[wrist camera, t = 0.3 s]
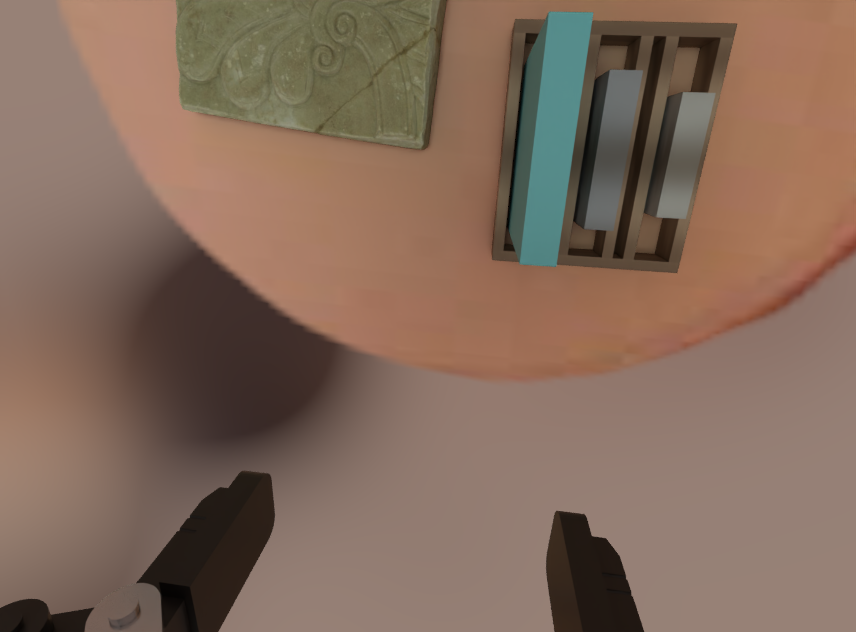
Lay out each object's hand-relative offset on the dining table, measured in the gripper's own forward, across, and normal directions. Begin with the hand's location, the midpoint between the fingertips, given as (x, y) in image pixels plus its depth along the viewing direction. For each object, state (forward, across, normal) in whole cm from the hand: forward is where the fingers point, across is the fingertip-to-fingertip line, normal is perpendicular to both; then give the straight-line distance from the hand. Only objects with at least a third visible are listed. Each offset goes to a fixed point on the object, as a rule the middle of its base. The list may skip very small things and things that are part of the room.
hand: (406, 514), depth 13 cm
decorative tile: (+30, +12, -19) cm, 38 cm away
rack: (+29, -10, -9) cm, 32 cm away
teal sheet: (+29, -5, -9) cm, 31 cm away
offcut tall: (+29, -10, -9) cm, 32 cm away
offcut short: (+29, -15, -9) cm, 34 cm away
